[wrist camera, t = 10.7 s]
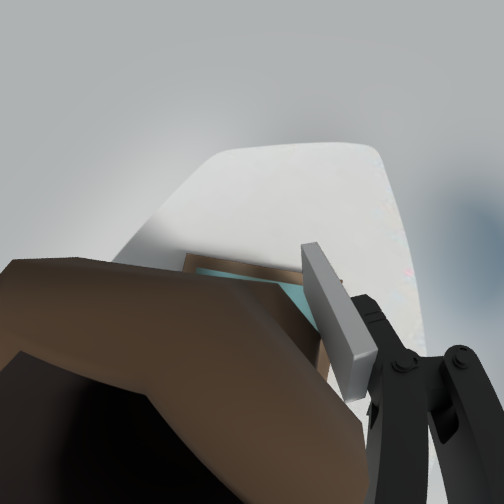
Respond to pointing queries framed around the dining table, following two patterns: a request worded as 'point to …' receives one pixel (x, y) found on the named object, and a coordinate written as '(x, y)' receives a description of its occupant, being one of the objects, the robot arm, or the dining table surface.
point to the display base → (255, 274)
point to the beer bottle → (165, 391)
